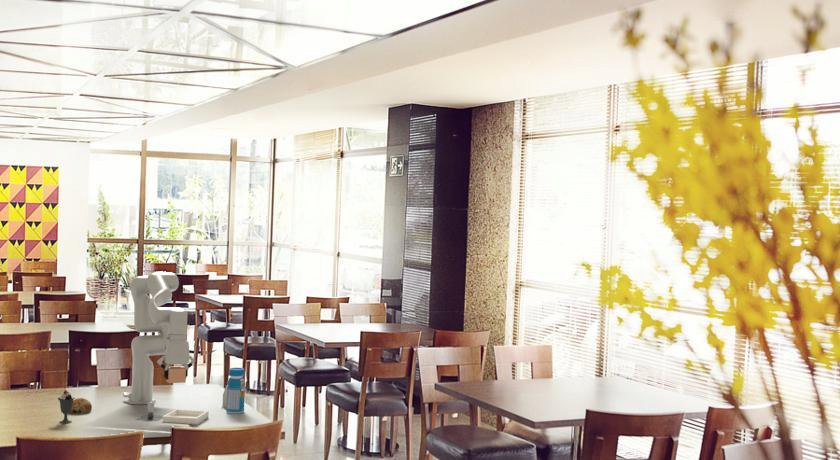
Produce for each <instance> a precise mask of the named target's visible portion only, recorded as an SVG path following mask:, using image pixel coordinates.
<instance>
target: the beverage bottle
mask: <svg viewBox="0 0 840 460" xmlns="http://www.w3.org/2000/svg"><path fill="white" fill-rule="evenodd" d="M228 375H229V378H228V380H227V382H226V384H227V386H228V387H227V402H226V408H225V412H226V413H227V414H232V415H233V414H237V415H238V414H242V413H244V412H245V400H246V397H245V396H246V381H245V378H244V376H245V368H244V367H243V368H242V367H231V368H229V373H228Z"/></svg>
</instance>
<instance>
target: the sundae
mask: <svg viewBox="0 0 840 460" xmlns="http://www.w3.org/2000/svg"><path fill="white" fill-rule="evenodd" d="M62 387H63V388H64V391H63V393H62V395H61V396H60V397H57V401H58V402H59V407H60V412H61V413H62V414H63V416H64V417H63V420H61V421H59V422H58V423H59V424H63V425H64V424H65V425H66V424H72V420H69V419H68V414H70V413H69V412H70V411H71V409H72V404H73V400H75V399H76V397H74V396H72V394H71V393H70V392H69V391H68V390H66V387H65V385H64V386H62Z"/></svg>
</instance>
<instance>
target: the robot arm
mask: <svg viewBox="0 0 840 460" xmlns="http://www.w3.org/2000/svg"><path fill="white" fill-rule="evenodd" d="M179 285H180V282H179V277H178V276H177V274H176V273H174V272H152V273H150V274H148V275H139V276H135V277H133V278H132V279H131V282H130V293H131V297H132V300H133V304H134V306H133V307H134V310H133V311H134V312H133V313H134V318H133V319H134V329H135V331H136V332H138V333H157V334H155V335H154V334H149V335H148V334H147V335H146V334H145V335H144V334H143V335H139V336H135V337H133V339H132V341H131V344H130V345H131V348H130V349H131V354H132V369H131V370H132V371H131V391H130V392H123V396H122V397H123V398H128V399H127V403H128V404H130V405H141V406H142V405H148V403H149V402H154V403H156V398H154V397H153V388H154V387H153V386H154V369H155V368H154V363H153V361H152V360H151V358H150V356H160V355H161V358H159V359H158V360H157V361H156V362H157V364H158V365H159V366H160V367H161V368H162V369H163V370H164V371H163V372H164V374H163V377H164V378H165V381H166V380H168V368H169V367H171V365H172V366H173V365H174V366H177V365H178V366H180V365H182V366H183V367H184V368H186V378H187V377H188V375H189V374H188V371H189V369H190V368H191V367H192V366H193V365H194V363H195V362H196V359H195V358H194V357H192V355H190V343H189V341H188V340H187V335H188V332H187V331H188V311H187V310H186V309H183V308H182V307H178V306H177V307H176V306H175V307H173V306H172V307H171V306H170V307H161V306H163V305H165V304H167V303H169V302H171V299H172V298H173V292H175V291H177V289H178V288H179ZM148 294H149V295H151V297H150V296H149V295H148ZM163 361H164V363H165V364H164V363H163Z"/></svg>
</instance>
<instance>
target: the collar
mask: <svg viewBox="0 0 840 460" xmlns="http://www.w3.org/2000/svg"><path fill="white" fill-rule="evenodd" d="M186 380H187V377H186V368H185V367H184V365H181V366H180V365H178V366H177V365H174V366H169V368H168V380H166V379H165V381H166V383H168V384H182V383H186Z"/></svg>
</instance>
